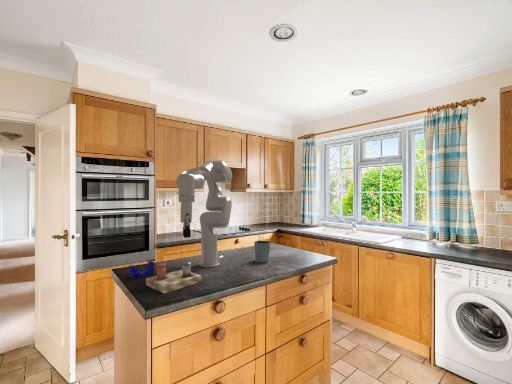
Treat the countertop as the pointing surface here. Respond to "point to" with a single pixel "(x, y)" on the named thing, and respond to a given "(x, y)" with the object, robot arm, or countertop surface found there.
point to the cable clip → (135, 274)
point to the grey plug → (186, 269)
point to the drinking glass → (262, 251)
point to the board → (172, 281)
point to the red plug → (161, 271)
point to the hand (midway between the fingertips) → (186, 235)
